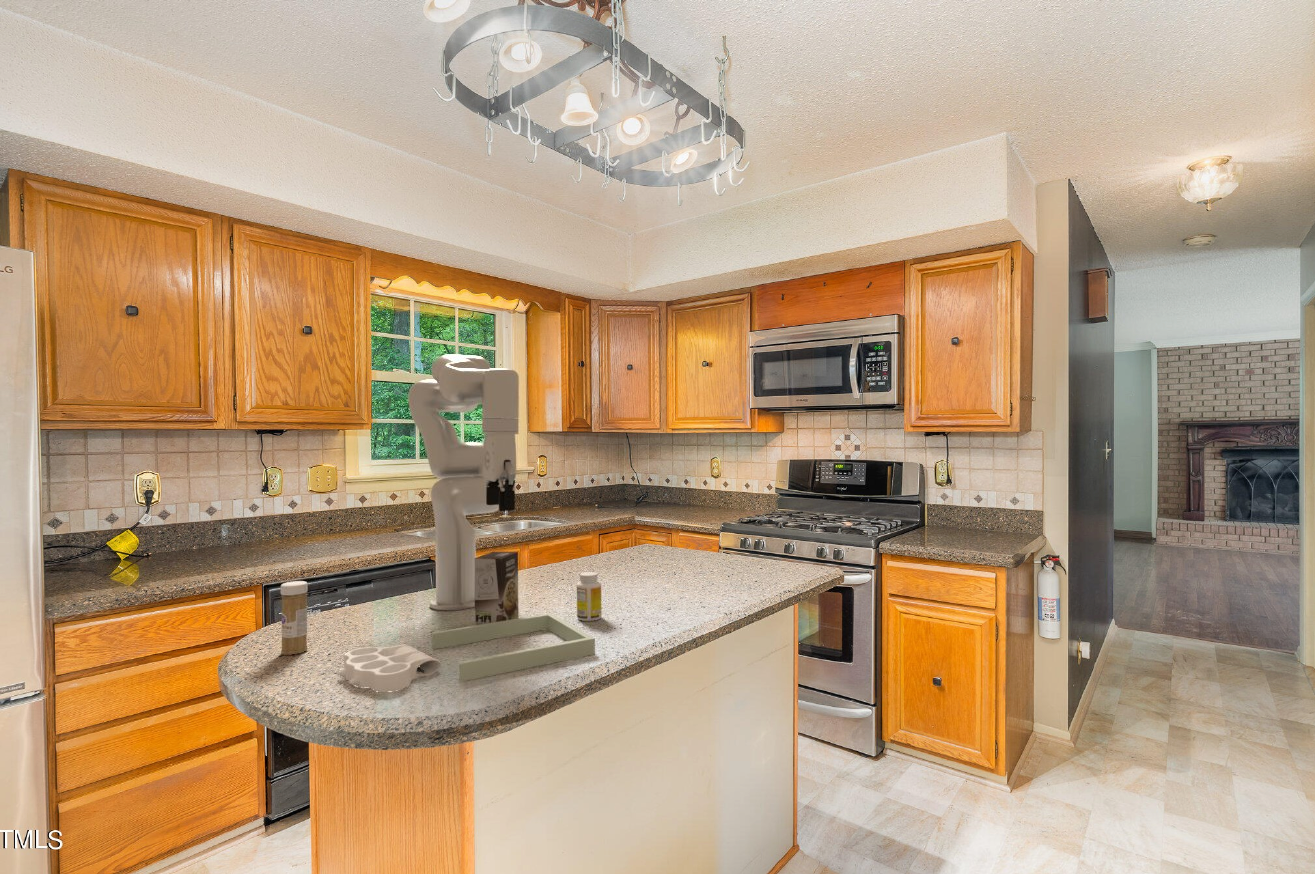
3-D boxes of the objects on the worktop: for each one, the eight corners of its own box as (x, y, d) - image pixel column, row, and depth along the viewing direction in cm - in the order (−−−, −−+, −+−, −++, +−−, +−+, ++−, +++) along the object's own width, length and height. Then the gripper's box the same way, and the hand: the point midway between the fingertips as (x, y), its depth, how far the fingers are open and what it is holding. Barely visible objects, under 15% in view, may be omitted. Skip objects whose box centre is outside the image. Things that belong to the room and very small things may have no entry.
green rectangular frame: (431, 647, 128) (431, 632, 128) (551, 626, 141) (551, 613, 141) (460, 681, 110) (460, 664, 110) (594, 654, 123) (594, 638, 123)
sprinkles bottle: (275, 654, 125) (275, 584, 125) (296, 647, 129) (296, 579, 129) (292, 657, 123) (292, 586, 123) (313, 649, 127) (312, 581, 127)
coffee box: (502, 636, 135) (501, 558, 135) (473, 634, 136) (472, 557, 136) (520, 623, 144) (519, 551, 144) (493, 622, 145) (492, 550, 145)
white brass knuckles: (449, 678, 112) (362, 703, 102) (404, 655, 125) (323, 675, 115) (449, 659, 112) (362, 682, 102) (404, 637, 125) (323, 656, 115)
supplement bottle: (602, 615, 150) (602, 571, 150) (600, 622, 144) (599, 576, 144) (578, 615, 150) (578, 571, 150) (575, 622, 145) (574, 576, 145)
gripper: (472, 426, 143) (472, 503, 144) (494, 428, 128) (493, 514, 129) (506, 426, 147) (505, 501, 147) (530, 428, 132) (530, 511, 132)
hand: (500, 507), depth 138 cm, fingers open, 9 cm apart
